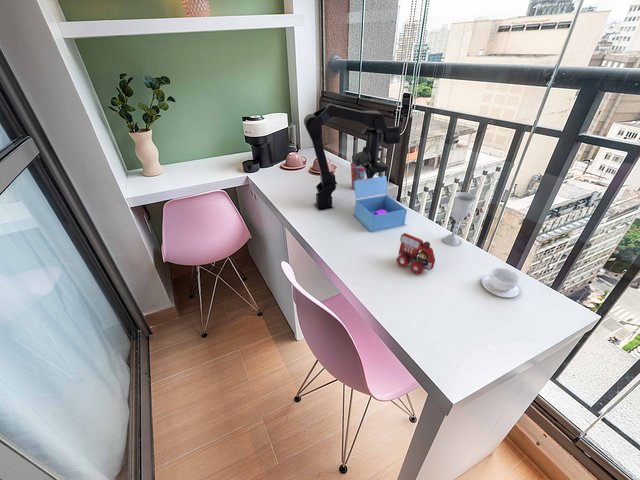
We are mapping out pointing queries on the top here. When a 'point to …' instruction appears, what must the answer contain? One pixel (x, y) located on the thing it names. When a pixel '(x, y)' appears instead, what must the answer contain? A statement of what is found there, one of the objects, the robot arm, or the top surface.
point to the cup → (357, 173)
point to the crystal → (380, 212)
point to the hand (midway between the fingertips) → (368, 181)
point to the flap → (370, 187)
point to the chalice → (459, 213)
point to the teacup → (502, 282)
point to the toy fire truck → (415, 254)
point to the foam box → (380, 221)
